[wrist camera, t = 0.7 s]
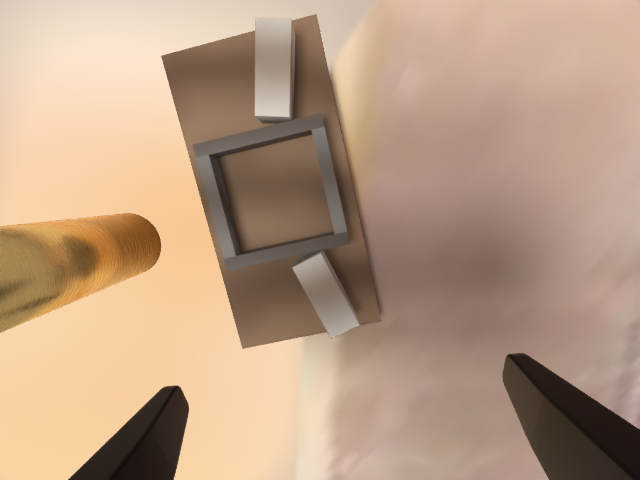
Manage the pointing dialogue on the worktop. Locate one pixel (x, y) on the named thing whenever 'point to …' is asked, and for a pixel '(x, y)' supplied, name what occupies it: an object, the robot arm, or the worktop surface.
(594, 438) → the robot arm
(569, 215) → the worktop surface
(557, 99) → the worktop surface
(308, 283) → the shaft rig
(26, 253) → the olive gold cylinder
